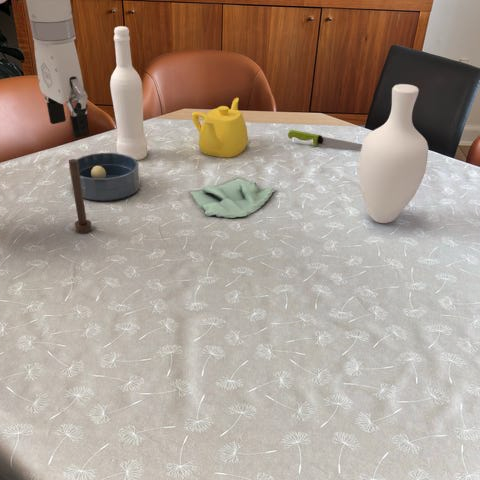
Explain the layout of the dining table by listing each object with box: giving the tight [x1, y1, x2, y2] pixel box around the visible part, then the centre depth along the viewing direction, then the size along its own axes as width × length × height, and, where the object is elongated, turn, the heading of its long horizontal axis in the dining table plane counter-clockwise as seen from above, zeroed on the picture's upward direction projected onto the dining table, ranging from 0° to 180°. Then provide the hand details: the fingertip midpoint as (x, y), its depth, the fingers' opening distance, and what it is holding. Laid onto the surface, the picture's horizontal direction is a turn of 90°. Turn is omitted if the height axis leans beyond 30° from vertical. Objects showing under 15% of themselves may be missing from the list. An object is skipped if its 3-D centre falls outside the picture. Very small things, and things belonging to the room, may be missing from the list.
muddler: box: [68, 158, 93, 234], centre depth 138 cm, size 4×4×15 cm
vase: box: [357, 83, 429, 224], centre depth 139 cm, size 14×14×28 cm
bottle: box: [109, 25, 149, 161], centre depth 164 cm, size 8×8×30 cm
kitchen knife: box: [287, 129, 363, 151], centre depth 180 cm, size 22×1×3 cm, turn 77°
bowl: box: [68, 152, 141, 202], centre depth 157 cm, size 16×16×6 cm
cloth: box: [190, 178, 276, 219], centre depth 155 cm, size 20×22×2 cm
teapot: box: [191, 97, 249, 159], centre depth 176 cm, size 22×16×11 cm
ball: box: [91, 166, 106, 178], centre depth 159 cm, size 4×4×4 cm
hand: (69, 129), depth 128 cm, fingers open, 9 cm apart
